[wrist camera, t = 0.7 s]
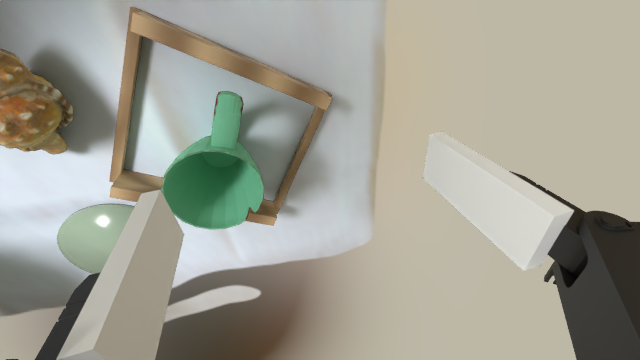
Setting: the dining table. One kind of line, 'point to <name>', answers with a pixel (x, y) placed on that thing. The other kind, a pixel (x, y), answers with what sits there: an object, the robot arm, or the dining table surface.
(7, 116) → the seashell
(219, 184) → the mug
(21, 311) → the dining table surface
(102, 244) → the coaster
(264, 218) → the oak frame
